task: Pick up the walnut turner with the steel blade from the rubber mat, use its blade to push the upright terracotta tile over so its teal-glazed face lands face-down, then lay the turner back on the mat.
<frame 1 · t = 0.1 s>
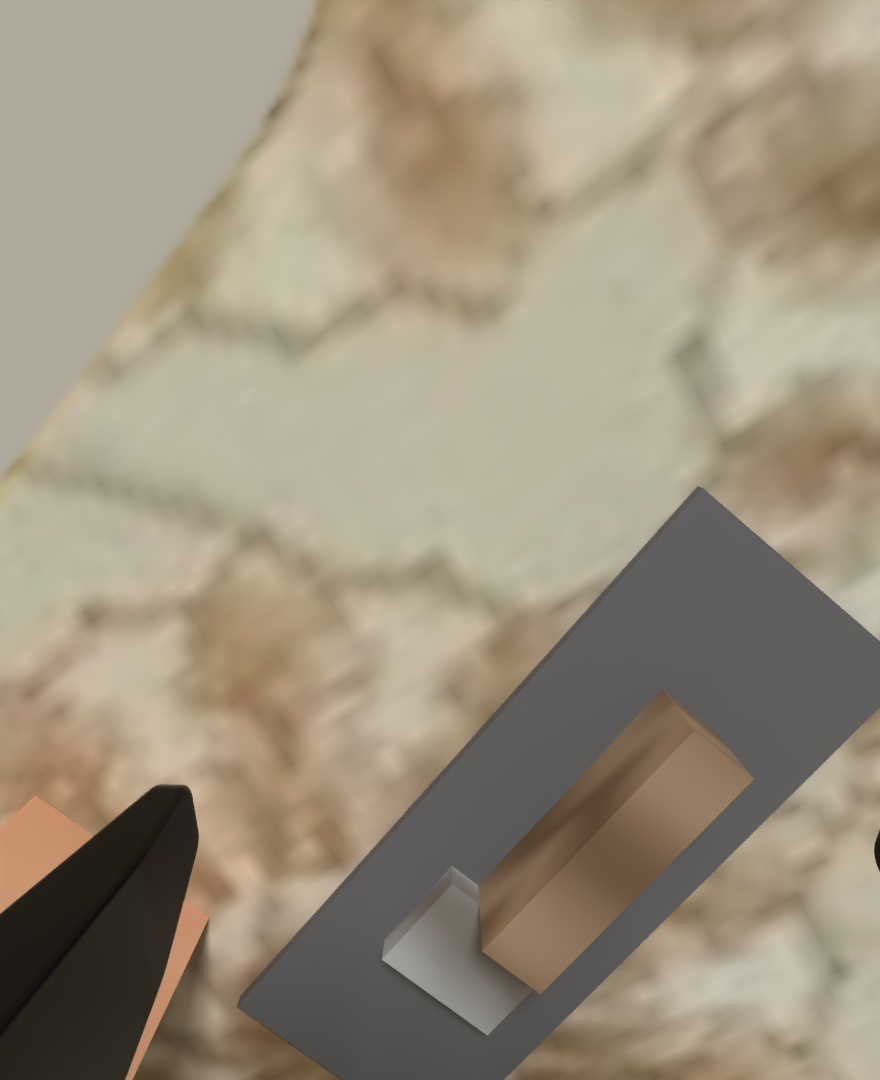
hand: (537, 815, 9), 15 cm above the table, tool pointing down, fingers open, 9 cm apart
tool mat: (555, 840, 26), on the table
walnut turner: (557, 848, 25), resting on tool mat
terracotta tile: (108, 875, 27), on the table
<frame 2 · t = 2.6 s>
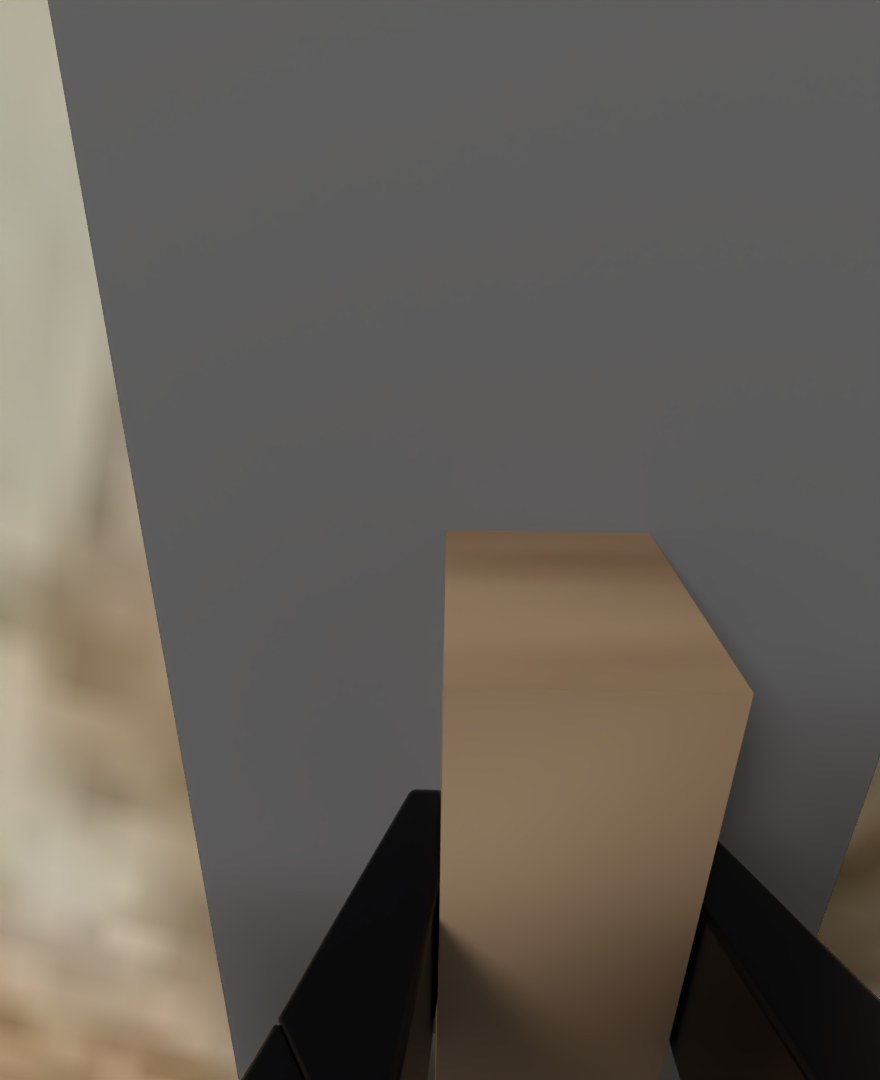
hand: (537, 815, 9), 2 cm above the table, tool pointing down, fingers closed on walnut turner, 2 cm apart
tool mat: (511, 895, 12), on the table
walnut turner: (514, 922, 11), resting on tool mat, touching gripper
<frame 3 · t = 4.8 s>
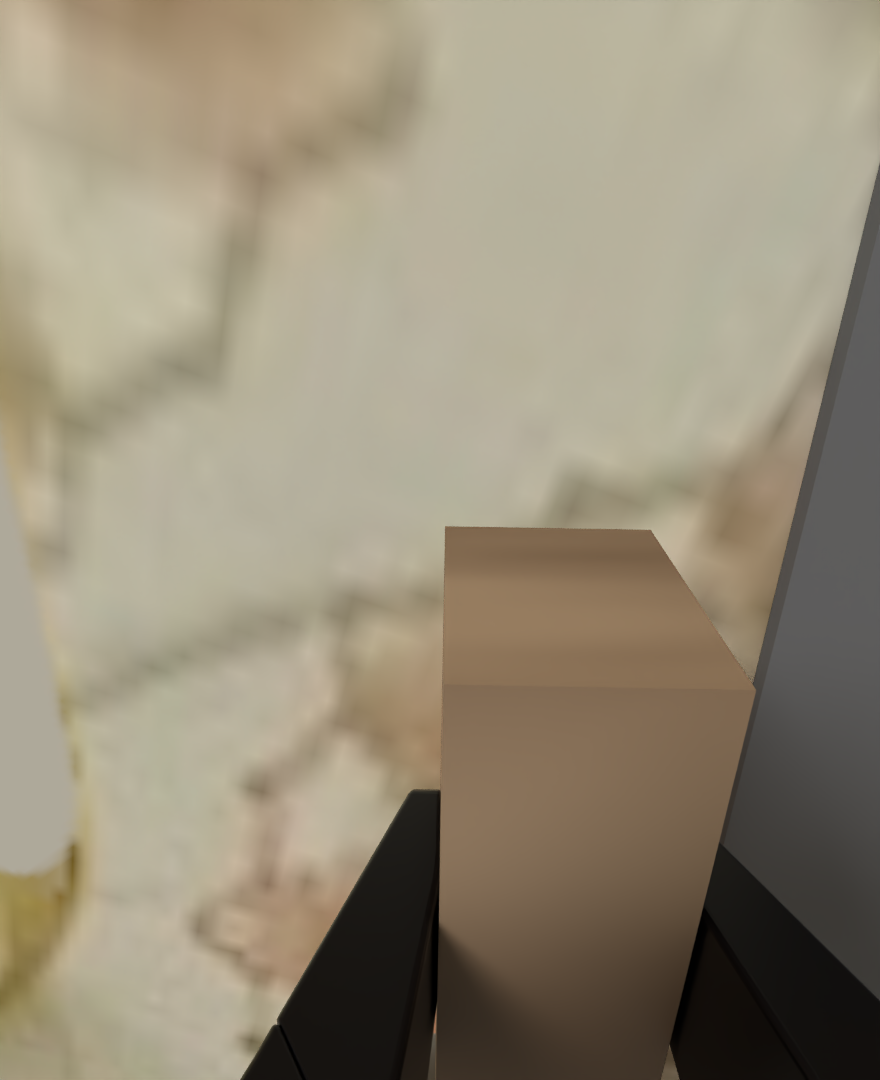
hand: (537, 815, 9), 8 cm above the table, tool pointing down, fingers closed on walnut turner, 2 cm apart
walnut turner: (514, 921, 11), point 7 cm above the table, touching gripper
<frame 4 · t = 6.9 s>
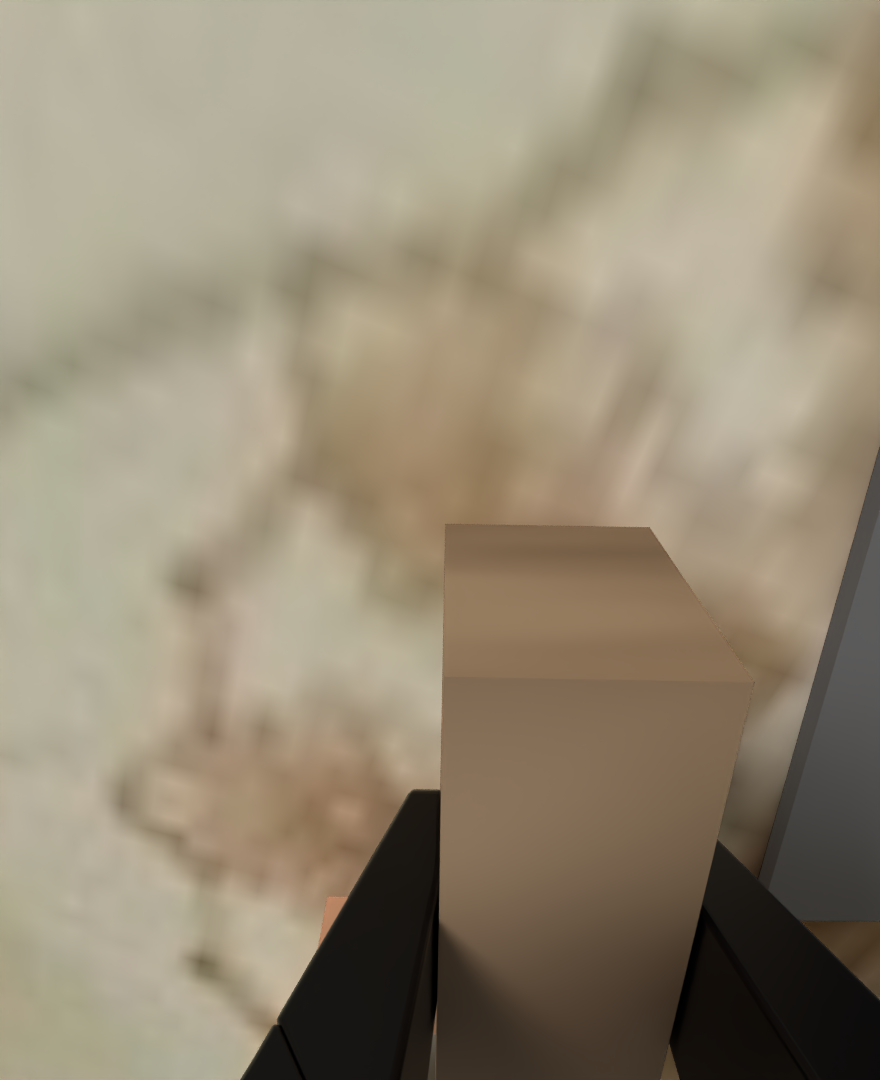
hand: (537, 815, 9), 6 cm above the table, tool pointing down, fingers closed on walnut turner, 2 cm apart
walnut turner: (514, 921, 11), point 5 cm above the table, touching gripper
terracotta tile: (482, 934, 17), point 1 cm above the table, tilted 90°
when the fingers open (3 cm above the table, at t = 10.8 s): walnut turner drops 1 cm, resting on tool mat.
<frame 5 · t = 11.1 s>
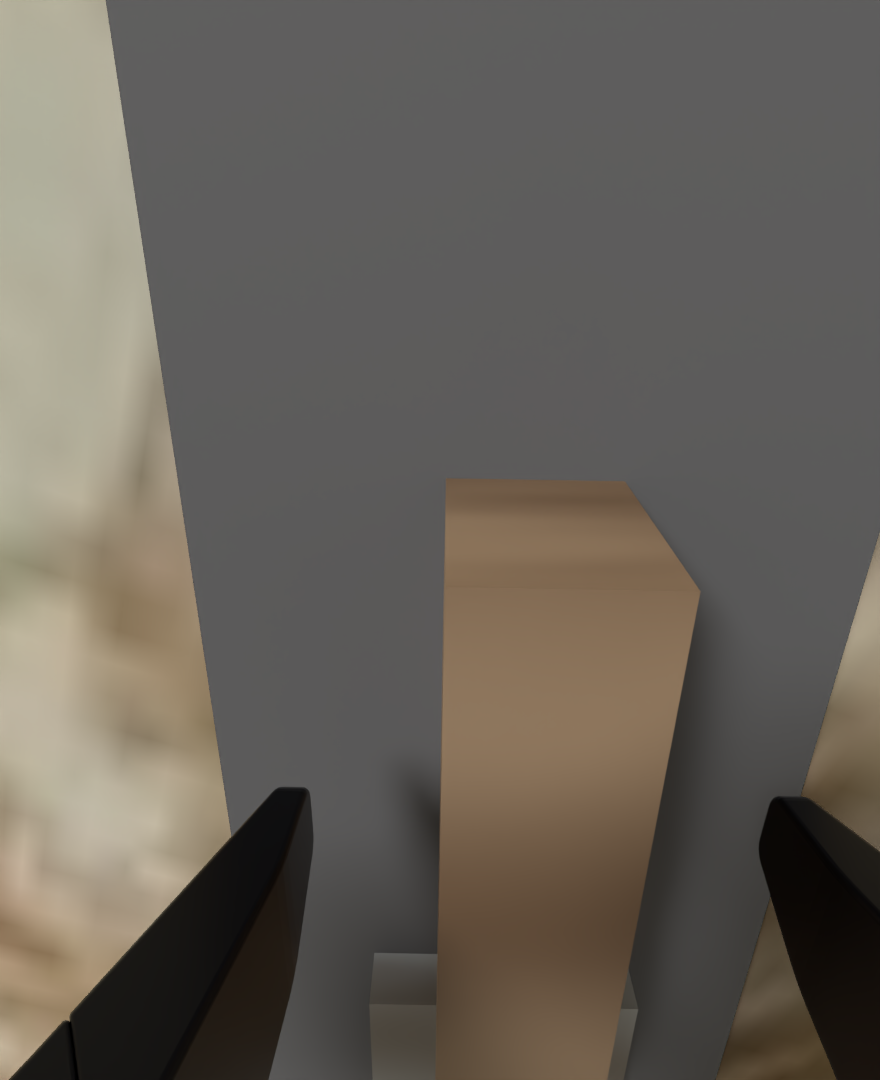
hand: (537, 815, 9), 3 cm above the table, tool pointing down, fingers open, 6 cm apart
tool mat: (505, 830, 13), on the table
walnut turner: (508, 845, 13), resting on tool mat
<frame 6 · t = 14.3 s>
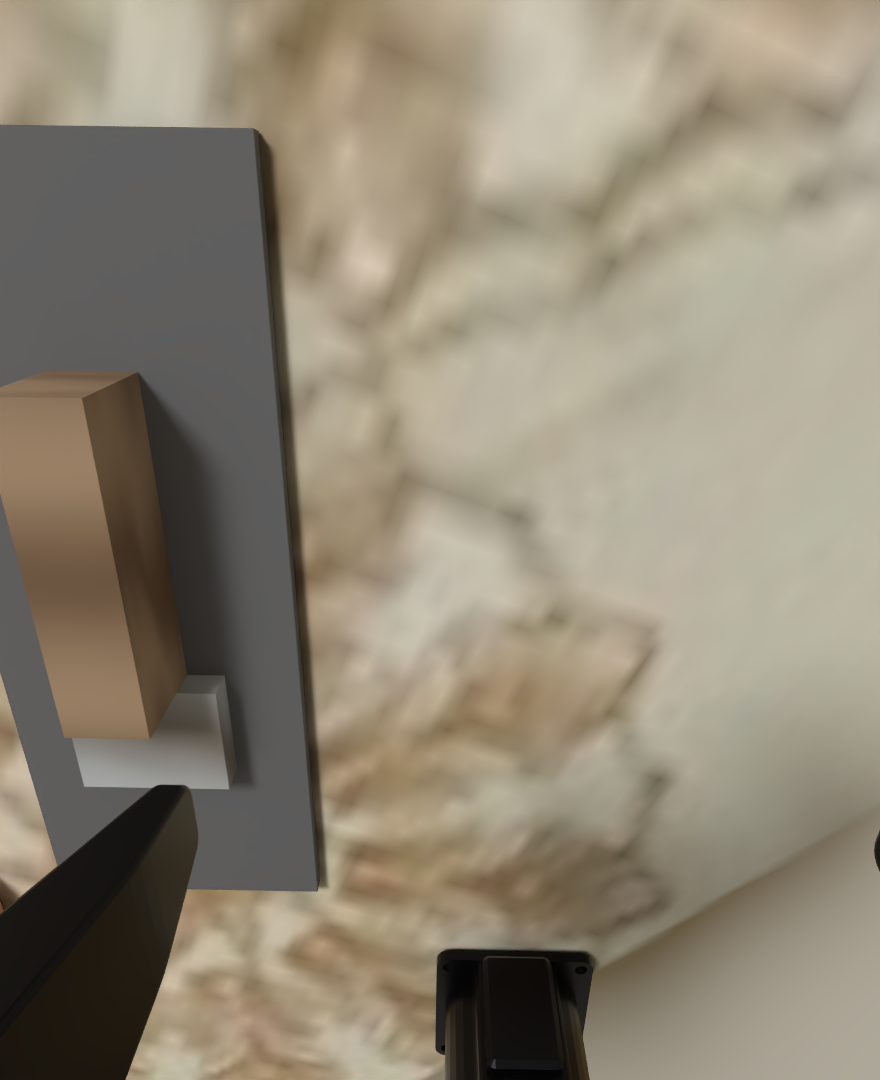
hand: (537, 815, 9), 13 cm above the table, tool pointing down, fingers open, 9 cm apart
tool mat: (141, 592, 23), on the table
walnut turner: (134, 595, 22), resting on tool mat
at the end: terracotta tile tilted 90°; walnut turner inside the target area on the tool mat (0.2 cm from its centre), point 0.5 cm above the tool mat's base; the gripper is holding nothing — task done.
